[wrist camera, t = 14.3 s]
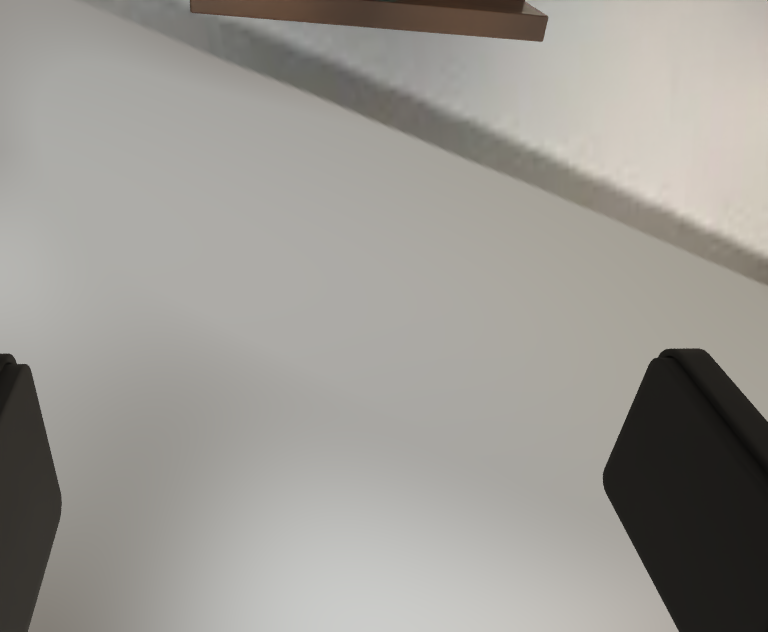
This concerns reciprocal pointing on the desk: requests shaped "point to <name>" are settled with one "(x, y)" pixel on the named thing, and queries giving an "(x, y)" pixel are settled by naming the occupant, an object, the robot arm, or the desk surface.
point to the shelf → (397, 15)
